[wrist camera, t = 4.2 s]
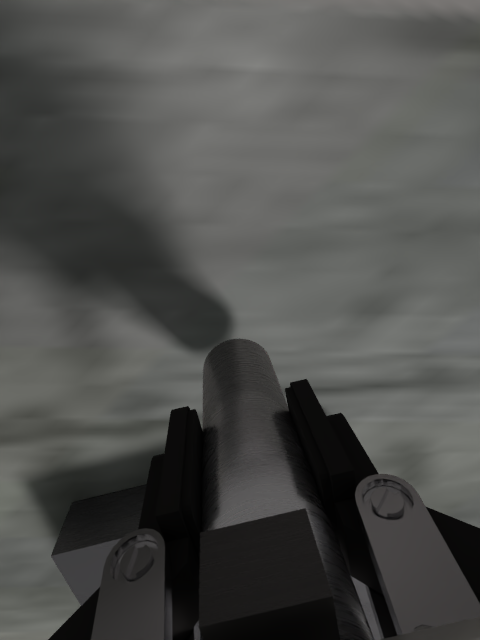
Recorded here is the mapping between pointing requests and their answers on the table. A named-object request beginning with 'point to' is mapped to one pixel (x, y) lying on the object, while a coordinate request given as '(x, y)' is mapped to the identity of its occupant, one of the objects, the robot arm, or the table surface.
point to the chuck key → (264, 516)
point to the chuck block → (104, 533)
